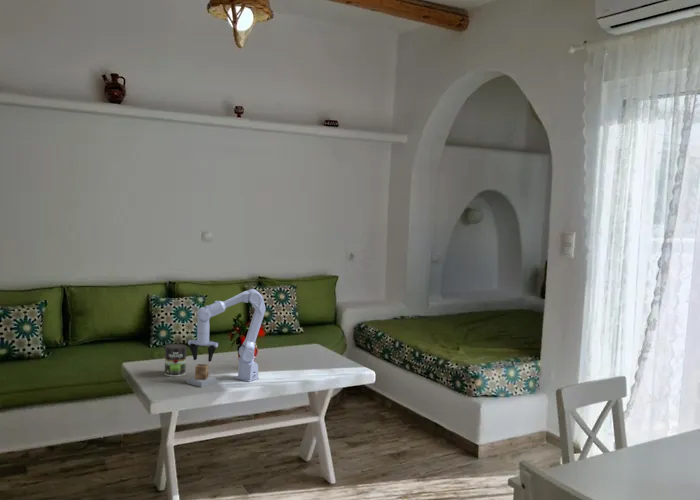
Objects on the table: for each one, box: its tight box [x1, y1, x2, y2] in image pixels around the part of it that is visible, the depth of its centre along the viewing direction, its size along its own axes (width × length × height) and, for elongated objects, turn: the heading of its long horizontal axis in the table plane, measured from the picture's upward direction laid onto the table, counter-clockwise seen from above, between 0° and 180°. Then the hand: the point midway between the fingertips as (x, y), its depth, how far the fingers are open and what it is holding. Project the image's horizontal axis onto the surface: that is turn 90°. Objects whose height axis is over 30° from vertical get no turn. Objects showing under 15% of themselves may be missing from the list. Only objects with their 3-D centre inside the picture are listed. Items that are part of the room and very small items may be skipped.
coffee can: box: [164, 343, 188, 378], centre depth 302 cm, size 10×10×14 cm
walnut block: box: [194, 363, 210, 380], centre depth 291 cm, size 5×5×6 cm
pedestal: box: [185, 375, 218, 388], centre depth 291 cm, size 10×10×2 cm
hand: (202, 360), depth 294 cm, fingers open, 7 cm apart
